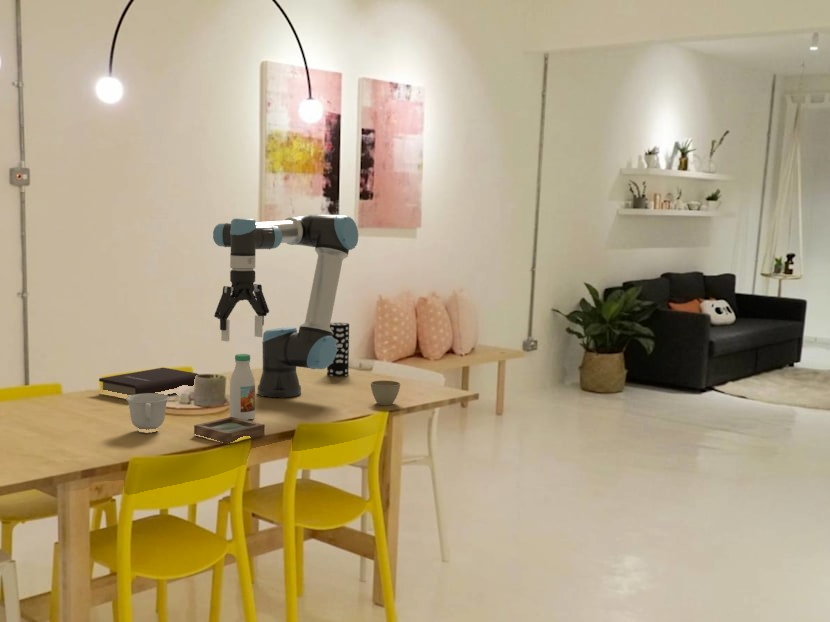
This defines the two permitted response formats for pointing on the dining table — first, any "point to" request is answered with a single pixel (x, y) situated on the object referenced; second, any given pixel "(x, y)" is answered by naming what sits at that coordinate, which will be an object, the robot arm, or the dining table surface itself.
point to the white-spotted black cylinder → (340, 350)
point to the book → (148, 381)
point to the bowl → (385, 391)
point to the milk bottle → (242, 389)
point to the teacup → (147, 410)
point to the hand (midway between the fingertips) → (242, 338)
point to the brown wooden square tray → (229, 429)
